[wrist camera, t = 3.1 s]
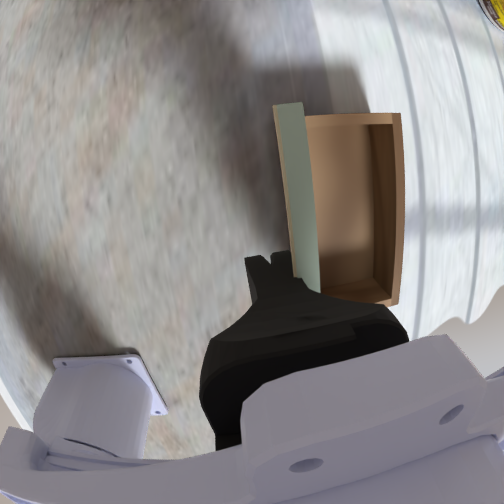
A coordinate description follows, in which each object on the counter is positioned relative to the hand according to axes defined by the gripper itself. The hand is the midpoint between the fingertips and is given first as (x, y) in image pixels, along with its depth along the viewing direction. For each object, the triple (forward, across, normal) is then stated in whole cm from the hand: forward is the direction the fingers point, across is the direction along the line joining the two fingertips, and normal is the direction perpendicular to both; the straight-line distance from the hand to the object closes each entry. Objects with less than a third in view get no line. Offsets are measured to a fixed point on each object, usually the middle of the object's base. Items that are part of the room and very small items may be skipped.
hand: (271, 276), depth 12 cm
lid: (0, -2, 0) cm, 2 cm away
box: (+8, -5, 0) cm, 10 cm away
